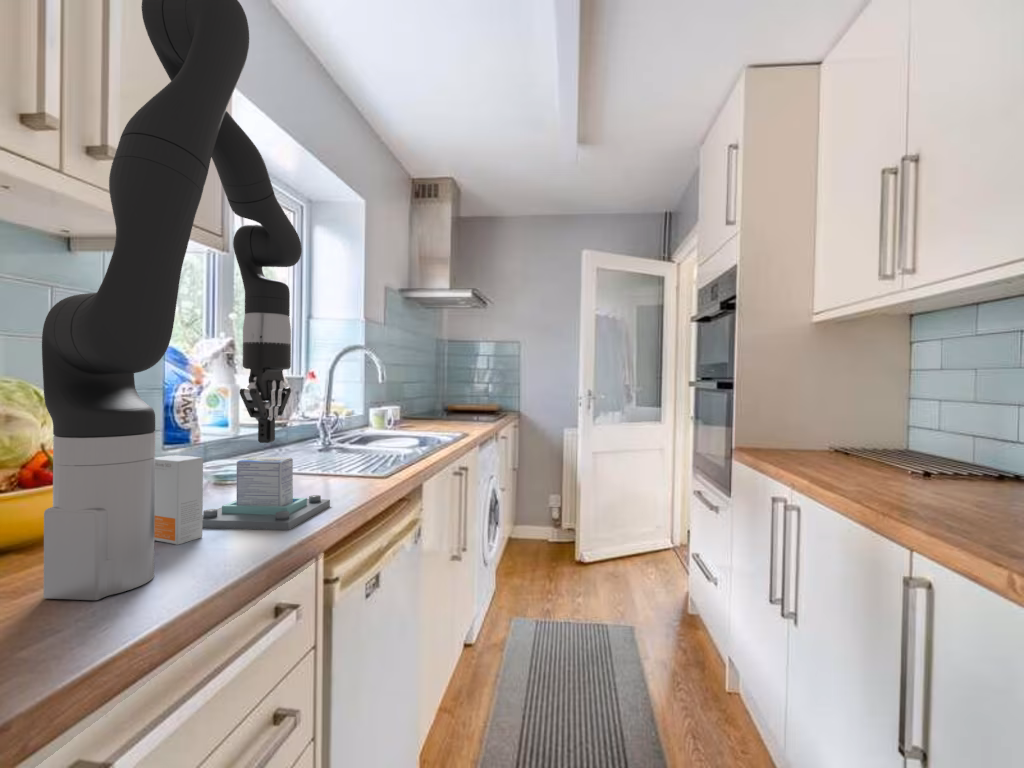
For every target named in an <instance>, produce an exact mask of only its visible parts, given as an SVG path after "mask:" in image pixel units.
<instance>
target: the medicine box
mask: <svg viewBox="0 0 1024 768" xmlns="http://www.w3.org/2000/svg"><path fill="white" fill-rule="evenodd" d="M293 460H294V459H293V458H292V457H276V456H275V457H273V456H272V457H271V456H270V457H267V456H262V457H261V456H256V457H254V456H253V457H252V456H250V457H245V458H242V459H239V460H237V461H236V500H237V505H251V506H287V505H289V504H291V503H293V498H294V490H293V489H294V485H293V482H294V480H293V479H294V478H293V475H294V474H293V471H294V470H293V469H294V468H293V467H294V464H293V463H294V462H293Z"/></svg>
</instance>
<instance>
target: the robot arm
mask: <svg viewBox="0 0 1024 768" xmlns="http://www.w3.org/2000/svg"><path fill="white" fill-rule="evenodd" d="M141 16H142V20H143V25H144V27H145V30H146V31H145V32H146V33H147V36H148V38H149V40H150V44H151V46H152V48H153V49H154V53H156V56H157V58H158V60H159V61H160V64H161V65H162V67H163V69H164V71H165V72H166V74H167V76H168V78H169V80H170V82H169V83H168V84H166V85H165V86H164V87H163V88H162V89H161V90H160V91H158V92H157V93H156V94H155V95H154V96H152V97H151V98H150V99H149V100H148V101H147V102H145V104H144V105H142V107H140V108H139V109H138V110H137V111H136V112H135V113H134V114H133V115H132V116H131V118H130V119H129V120H128V122H127V123H126V124H125V127H124V129H123V130H122V133H121V135H120V138H119V141H118V145H117V147H116V150H115V153H114V157H113V159H112V162H111V168H110V170H109V171H110V172H109V177H108V189H109V196H110V202H111V209H112V213H113V217H114V223H115V242H114V248H113V251H112V255H111V258H110V261H109V263H108V267H107V270H106V272H105V275H104V277H103V279H102V282H101V284H100V286H99V288H98V290H97V291H96V292H90V293H89V292H88V293H79V294H74V295H70V296H67V297H65V298H63V299H60V300H59V301H57V302H56V303H55V304H54V305H53V306H52V307H51V309H50V310H49V311H48V313H47V315H46V317H45V320H44V323H43V327H42V333H41V334H42V335H41V358H42V359H41V360H42V364H41V365H42V382H43V398H44V403H45V407H46V411H47V412H48V414H49V416H50V418H51V421H52V427H53V428H52V431H53V432H52V434H53V437H52V439H53V440H52V443H53V444H52V445H53V447H52V450H53V451H52V452H53V453H52V454H53V455H52V461H53V462H52V463H53V464H52V506H51V507H48V508H46V509H45V510H44V512H43V599H52V600H53V599H55V600H78V601H79V600H81V601H98V600H101V599H103V598H105V597H108V596H112V595H116V594H120V593H125V592H126V591H129V590H133V589H135V588H138V587H140V586H143V585H145V584H146V583H148V582H150V581H152V579H154V577H155V540H154V533H155V458H156V413H155V410H154V408H153V407H152V406H150V405H149V404H148V403H146V402H145V401H144V400H143V399H142V398H141V396H140V395H139V394H138V392H137V388H136V385H135V384H136V383H135V381H136V380H135V374H137V373H141V372H144V371H147V370H149V369H151V368H153V367H154V366H155V365H157V364H158V363H159V362H160V361H161V359H163V357H164V355H165V354H166V352H167V350H168V348H169V346H170V342H171V339H172V335H173V332H174V324H175V318H176V310H177V309H176V308H177V302H178V295H179V287H180V279H181V275H182V270H183V265H184V261H185V256H186V253H187V249H188V247H189V246H188V245H189V242H190V238H191V235H192V230H193V226H194V222H195V218H196V214H197V212H198V208H199V205H200V203H201V200H202V196H203V194H204V193H203V192H204V188H205V184H206V181H207V177H208V174H209V169H210V165H211V159H212V161H213V164H214V166H215V170H216V171H217V174H218V178H219V180H220V183H221V185H222V188H223V191H224V194H225V196H226V198H227V201H228V204H229V207H230V209H231V210H232V212H233V213H234V214H235V215H236V216H238V217H240V218H244V219H247V220H251V221H254V222H256V223H258V224H244V225H242V226H240V227H238V229H236V232H235V233H234V236H233V241H232V246H233V247H232V248H233V250H234V252H233V253H234V255H235V258H236V261H237V264H238V268H239V271H240V276H241V280H242V284H243V289H244V319H243V323H242V325H243V326H242V367H243V368H244V369H246V370H249V371H250V372H249V375H248V385H247V387H246V388H243V387H241V388H240V389H239V395H240V397H241V400H242V402H243V404H244V406H245V408H246V411H247V412H248V415H249V417H250V418H251V419H252V418H253V419H255V421H257V423H258V425H257V430H258V431H257V441H258V442H259V444H260V443H261V444H269V443H273V442H275V441H276V436H275V435H276V421H277V420H278V418H279V416H280V417H282V416H283V413H284V412H285V409H286V406H287V404H288V400H289V398H290V395H291V392H292V390H291V387H286V386H285V385H284V382H285V379H284V373H283V372H284V370H286V371H287V370H289V369H291V367H292V365H291V362H292V358H291V357H292V346H291V345H292V328H291V327H292V326H291V320H290V319H291V318H290V316H291V315H290V314H291V313H290V312H291V311H290V305H291V304H290V303H291V302H290V296H291V295H290V293H291V292H290V287H289V286H288V284H286V283H285V282H283V281H280V280H278V279H277V280H276V279H271V278H267V277H266V276H265V274H264V271H263V268H290V267H294V266H296V264H298V262H299V261H300V259H301V257H302V252H303V250H302V242H301V239H300V237H299V236H300V235H299V234H298V232H297V230H296V228H295V227H294V225H293V223H292V221H291V220H290V218H289V217H288V216H287V214H286V213H285V211H284V210H283V208H282V206H281V204H280V203H279V201H278V199H277V197H276V194H275V191H274V187H273V184H272V182H271V181H272V180H271V178H270V175H269V171H268V168H267V165H266V163H265V160H264V158H263V155H262V154H261V152H260V151H259V149H258V147H257V146H256V145H255V143H254V142H253V140H252V139H251V138H250V137H249V136H248V135H247V133H246V132H245V131H244V129H242V127H241V126H240V125H239V124H238V123H237V121H235V119H234V118H233V117H232V116H231V114H230V113H229V112H228V111H227V108H228V106H229V104H230V101H231V99H232V97H233V94H234V91H235V89H236V87H237V85H238V82H239V80H240V78H241V76H242V73H243V71H244V68H245V66H246V62H247V60H248V59H247V58H248V54H249V48H250V30H249V28H250V26H249V23H248V18H247V14H246V13H245V10H244V7H243V6H242V3H240V1H239V0H141Z"/></svg>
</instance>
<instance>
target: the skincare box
mask: <svg viewBox="0 0 1024 768" xmlns="http://www.w3.org/2000/svg"><path fill="white" fill-rule="evenodd" d="M203 474H204V457H199V456H192V455H175V454H174V455H173V454H171V455H166V456H158V457H157V456H155V533H154V541H157V542H162V543H167V544H173V545H175V546H177V545H179V546H180V545H182V544H185V543H187V542H191V541H192V542H193V541H195V540H198V539H201V538H202V537H203V528H202V526H203V523H202V521H203V511H204V509H203V506H204V505H203V501H204V499H203V498H204V497H203V496H204V495H203V493H204V492H203V491H204V490H203V489H204V488H203V486H204V483H203V482H204V475H203Z"/></svg>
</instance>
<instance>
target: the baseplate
mask: <svg viewBox="0 0 1024 768" xmlns="http://www.w3.org/2000/svg"><path fill="white" fill-rule="evenodd" d="M321 497H322V496H321V495H320V494H313V495H310V496H309V497H308V498H307V497H293V503H291V504H289V505H287V506H251V505H237V499H236V500H234V501H231V502H229V503H226V504H224V505H222V506H221V507H219V508H210V509H209V508H208V509H205V510H204V509H203V521H202V523H203V526H202V529H203V528H206V529H207V528H209V529H236V530H237V529H241V530H243V529H244V530H270V531H271V530H272V531H274V530H275V531H289V530H291V529H293V528H294V527H296V526H298V525H300V524H301V523H303V522H305V521H307V520H308V519H310V518H312V517H313V516H315V515H317V514H318V513H320V512H322V511H324V510H326V509H327V508H329V507H330V506H331V499H328V498H327V499H322V498H321Z"/></svg>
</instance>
